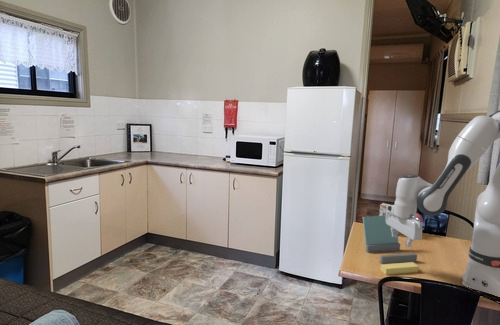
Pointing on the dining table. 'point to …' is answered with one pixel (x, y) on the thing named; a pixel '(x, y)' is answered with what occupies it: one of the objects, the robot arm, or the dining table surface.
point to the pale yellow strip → (399, 268)
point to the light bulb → (419, 217)
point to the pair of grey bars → (391, 258)
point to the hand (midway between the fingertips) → (400, 241)
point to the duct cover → (377, 231)
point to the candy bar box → (384, 211)
